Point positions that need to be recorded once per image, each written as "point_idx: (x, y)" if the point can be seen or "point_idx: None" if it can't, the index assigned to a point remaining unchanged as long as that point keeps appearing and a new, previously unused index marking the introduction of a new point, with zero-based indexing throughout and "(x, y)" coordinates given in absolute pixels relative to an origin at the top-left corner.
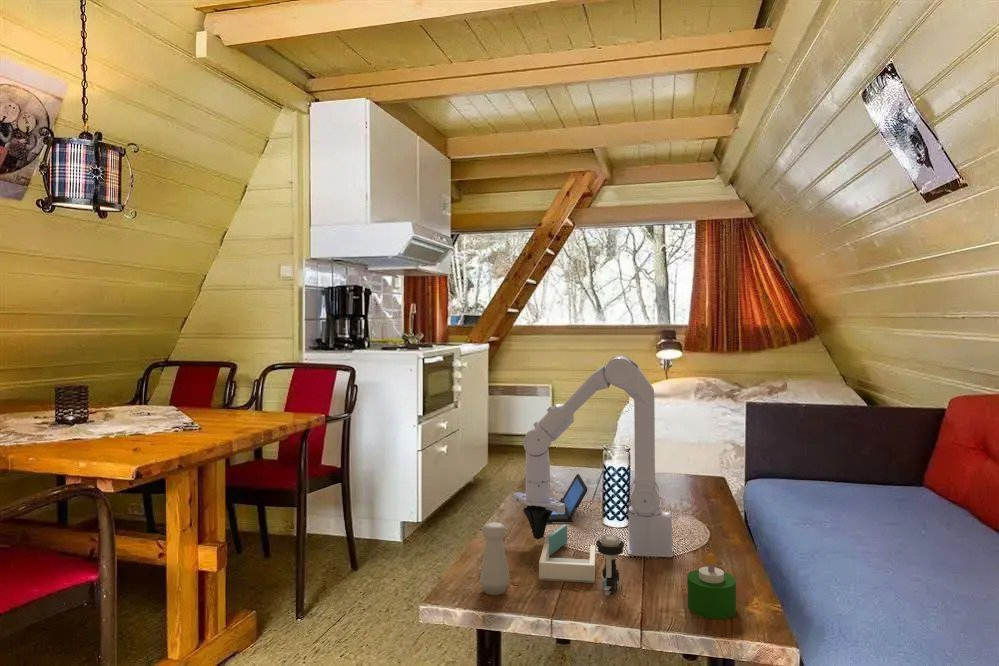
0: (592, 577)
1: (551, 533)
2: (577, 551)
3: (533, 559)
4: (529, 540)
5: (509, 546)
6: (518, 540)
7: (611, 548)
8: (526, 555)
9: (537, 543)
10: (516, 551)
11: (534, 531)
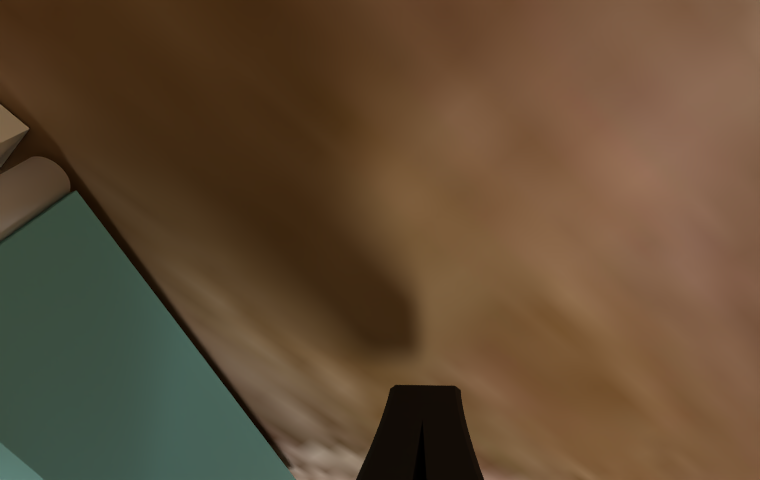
0: None
1: (40, 476)
2: None
3: (78, 23)
4: (565, 373)
5: (655, 112)
6: (673, 313)
7: None
8: (243, 53)
9: (445, 365)
10: (444, 52)
11: (425, 456)
